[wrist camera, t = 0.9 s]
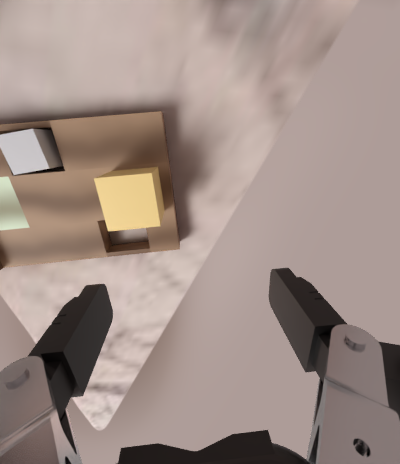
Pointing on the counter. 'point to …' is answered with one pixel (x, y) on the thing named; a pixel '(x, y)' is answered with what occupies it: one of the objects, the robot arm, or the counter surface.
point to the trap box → (81, 191)
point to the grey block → (30, 150)
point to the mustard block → (131, 198)
